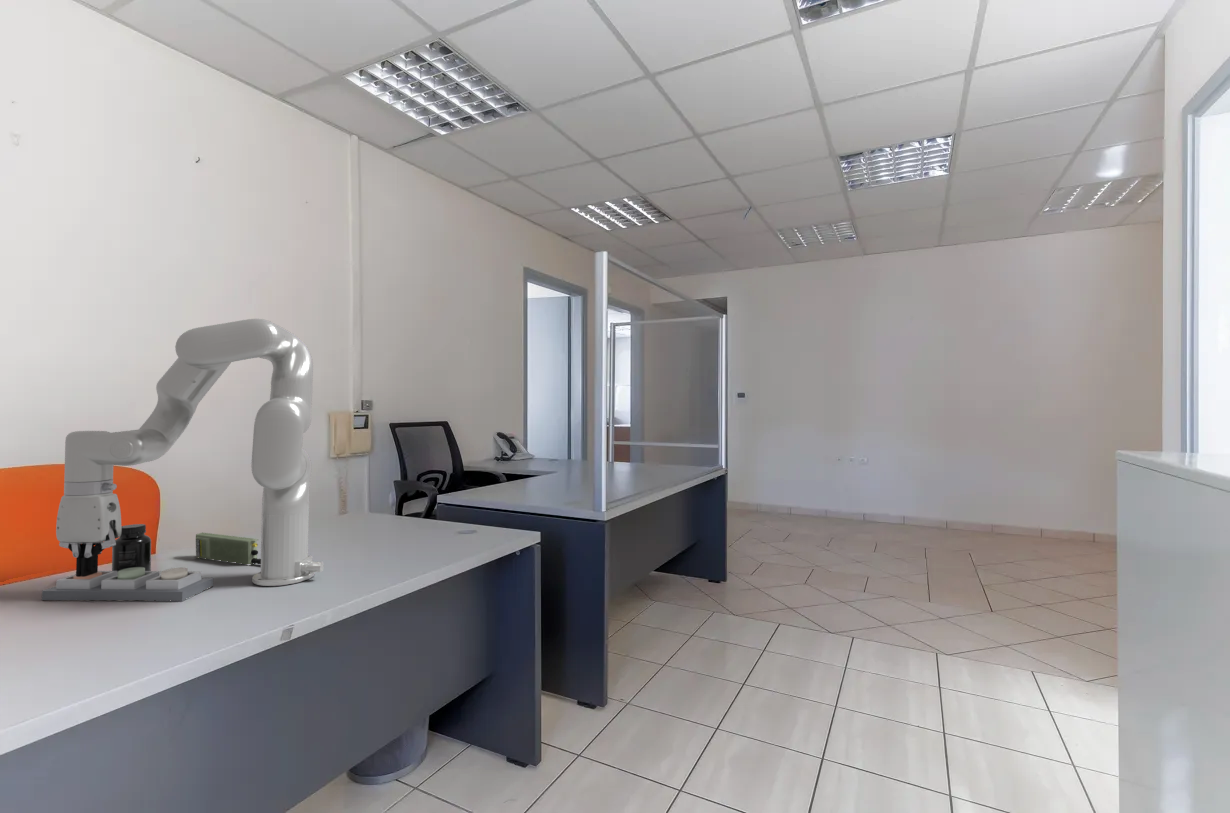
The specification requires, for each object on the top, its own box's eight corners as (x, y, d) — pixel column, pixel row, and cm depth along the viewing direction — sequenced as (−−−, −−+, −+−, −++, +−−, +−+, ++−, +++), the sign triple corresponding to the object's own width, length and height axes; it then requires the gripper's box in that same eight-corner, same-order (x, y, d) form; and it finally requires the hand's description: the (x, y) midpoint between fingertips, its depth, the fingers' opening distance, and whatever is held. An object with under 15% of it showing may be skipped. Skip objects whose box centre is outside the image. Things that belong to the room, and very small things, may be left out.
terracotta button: (107, 579, 118) (107, 571, 118) (88, 586, 114) (88, 577, 114) (86, 579, 118) (86, 571, 118) (67, 586, 114) (67, 577, 114)
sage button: (150, 575, 119) (150, 567, 119) (133, 581, 114) (133, 573, 114) (129, 575, 119) (129, 567, 119) (111, 581, 114) (111, 573, 114)
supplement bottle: (158, 573, 130) (159, 523, 130) (130, 582, 123) (131, 529, 123) (132, 572, 131) (133, 522, 131) (103, 581, 124) (104, 528, 124)
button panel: (212, 586, 121) (213, 569, 121) (182, 601, 112) (182, 583, 112) (83, 586, 120) (83, 568, 120) (41, 600, 111) (42, 582, 111)
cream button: (192, 575, 119) (192, 567, 119) (177, 582, 115) (177, 573, 115) (171, 575, 119) (172, 567, 119) (155, 582, 115) (155, 573, 115)
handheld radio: (206, 556, 147) (276, 565, 139) (193, 559, 143) (264, 570, 136) (205, 531, 146) (276, 539, 138) (192, 534, 143) (264, 543, 135)
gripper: (139, 486, 120) (137, 569, 120) (69, 485, 120) (67, 569, 120) (109, 492, 113) (107, 580, 113) (34, 490, 112) (32, 579, 112)
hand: (86, 574), depth 116 cm, fingers closed
